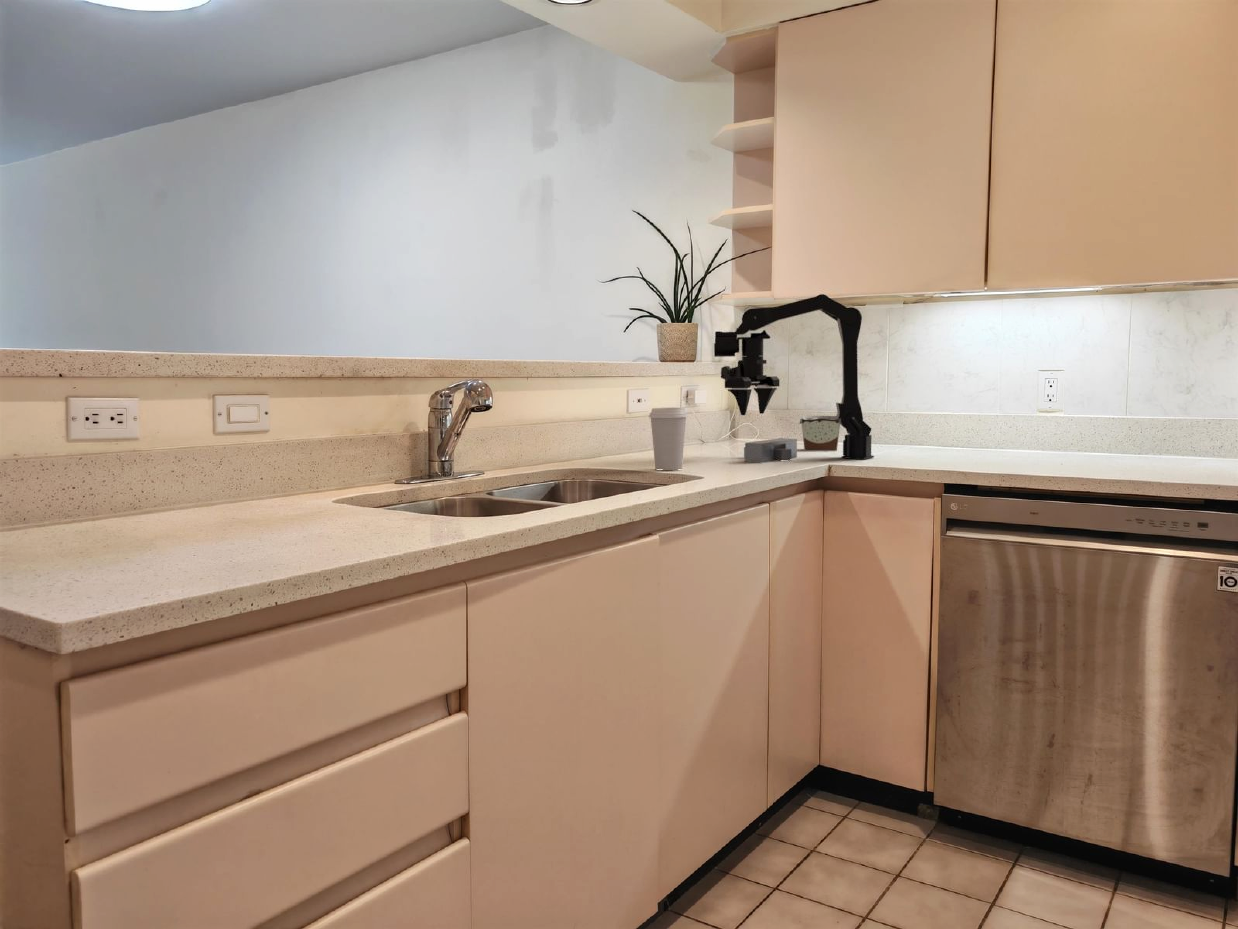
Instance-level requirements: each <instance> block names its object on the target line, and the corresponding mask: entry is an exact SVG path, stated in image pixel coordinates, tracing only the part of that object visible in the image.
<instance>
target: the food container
mask: <svg viewBox="0 0 1238 929" xmlns="http://www.w3.org/2000/svg"><path fill="white" fill-rule="evenodd" d="M798 425H801V429H802V440H803V441H802V442H803V451H804V452H837V451H838V446H839V437H840V429H841V424H840V423H839V419H838V418H836V415H804V416H803V415H802V416H801V417H800V419H799V424H798Z"/></svg>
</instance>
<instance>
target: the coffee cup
mask: <svg viewBox="0 0 1238 929" xmlns="http://www.w3.org/2000/svg"><path fill="white" fill-rule="evenodd" d="M688 417H689V416H688V413H687V411H686V409H685V407H654V408H651V410H650V412H649V415H648V418H649V419H650V426H651V427H650V428H651V436H652V446H653V447H652V448H653V456H654V467H655V470H656V469H663V470H677V471H679V470H678V469H683V460H684V447H685V435H686V434H685V433H686V425H687V424H686V422H687V418H688Z"/></svg>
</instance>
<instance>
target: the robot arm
mask: <svg viewBox="0 0 1238 929" xmlns="http://www.w3.org/2000/svg"><path fill="white" fill-rule="evenodd" d="M817 311H821V312H822V313H824V314H825V315H826V316H828V317H830V318H831V319H833V320H835V321H836V322H837V327H838V332H839V336H840V337H839V338H840V341H841V344H842V345H841V347H842V351H841V354H842V358H841V359H842V363H841V364H842V365H841V366H842V398H841V402H836V403H835V406H836V415H835V416H836V418H838V419H839V423H840V426H842V427H843V428H845V430H846V433H847V434H844V440H842V455H841V459H854V460H855V459H856V460H867V459H871V458H872V459H873V458H874V457H875V455H873V454H872V434H871V431H872V427H871V426H869V425H868V424H867V422H866V421H864V417H863V416H864V415H863V410H862V407H861V402H860V398H859V390H858V389H859V388H858V386H859V379H858V377H859V376H858V371H859V370H858V342H859V341H858V340H859V338H860V332H861V327H862V321H863V317H862V312H861V311H860V310H859V309H858V308H856V307H854V306H852V307H851V306H850V307H847V306H846V305H844V304H842V303H840V302H838V301H836V300H834V299H832V298H830V297H829V296H828V294H827V295H826V294H823V293H821V294H818V295H815V296H812V297H809V298H805V299H801V300H797V301H793V302H789V303H785V304H781V305H778V306H772V307H771V306H769V307H754V308H748V309H747V310H745V311H744V313H743V314H742V316H741V323H740V325H739V326H738V327H736V329H735V331H714V343H713V348H714V351H713V352H714V356H713V357H714V358H719V357H720V358H722V357H723V358H725V357H726V358H727V357H729V358H730V357H731V358H732V357H733V358H735V357H736V354H738V353H739V354H740V340H741V359H740V360H739V359H738V362H737V366H734V367H730V366H729V365H724V366H723V367H722V366H721V369H720V378H721V379H723V380H724V389H727V391H728V392H730V393H731V394H732V395H733V396H734V399H735V401H736V402H737V407H738V409H739V412H740V415H741V416H745V415H746V414H747V410H748V406H749V403H750V397H751V393H752V388H751V387H752V386H753V390H754V391H755V393H756V394H757V402H758V412H759V414H761V415H762V414H764V413H765V411H766V409H767V408H768V405H769V403H770V400H772V397H773V396H774V393H775V391H776V390H777V389H778V388H777V387H780V379H779V377H778V376H769V375H768V376H767V375H765V374H764V365H765V364H767V359H764V340H770V339H771V335H769V334H768V333H767V332H766V330H765V329H763V328H764V327H767V326H769V325H772V324H773V323H775V322H778V321H781V320H786V319H789V318H793V317H797V316H802V315H805V314H809V313H813V312H817ZM760 329H763V331H761V332H756V331H758V330H760ZM749 331H750V336H746V337H745V336H744V337H743V335H746V334H747V333H748V332H749ZM738 336H740V337H738Z"/></svg>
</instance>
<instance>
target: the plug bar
mask: <svg viewBox="0 0 1238 929" xmlns="http://www.w3.org/2000/svg"><path fill="white" fill-rule="evenodd" d="M743 458H744V459H745V446H744V448H743ZM790 459H791V460H792V458H791V449H785V448H774V460H788V461H791V460H790Z"/></svg>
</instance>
